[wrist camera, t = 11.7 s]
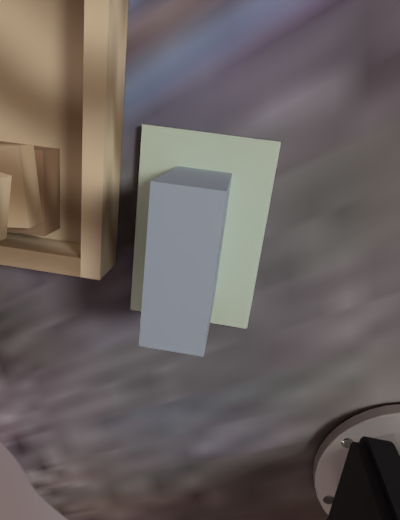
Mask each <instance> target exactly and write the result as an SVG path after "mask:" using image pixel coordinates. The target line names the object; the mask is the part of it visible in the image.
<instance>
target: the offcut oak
mask: <svg viewBox="0 0 400 520" xmlns="http://www.w3.org/2000/svg"><path fill="white" fill-rule="evenodd" d="M0 172H1V173H5V174H8V175H12V180H11V191H10V203H9V214H8V226H7V227H11V228H31V227H33V226H36V225H38V224H40V223H42V222H43V218H42V210H41V201H40V193H39V185H38V177H37V169H36V161H35V153H34V145H29V144H0Z"/></svg>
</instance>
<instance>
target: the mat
mask: <svg viewBox="0 0 400 520" xmlns="http://www.w3.org/2000/svg"><path fill="white" fill-rule="evenodd" d="M280 145H281V142H277V141H270V140H262V139H254V138H246V137H238V136H230V135H223V134H215V133H207V132H199V131H191V130H184V129H176V128H168V127H160V126H152V125H145V124H142V133H141V149H140V165H139V180H138V196H137V212H136V227H135V243H134V259H133V274H132V290H131V306H130V310H135V311H141V309H142V295H143V281H144V267H145V253H146V239H147V225H148V211H149V197H150V183H151V181H152V180H154V179H156V178H157V177H159V176H161V175H163V174H165V173H167V172H168V171H170V170H172V169H174V168H176V167H178V166H182V167H190V168H198V169H205V170H213V171H220V172H228V173H232V179H231V186H230V193H229V201H228V208H227V215H226V222H225V229H224V236H223V243H222V250H221V257H220V264H219V271H218V278H217V285H216V292H215V299H214V304H213V309H212V315H211V320H210V323H215V324H221V325H227V326H233V327H239V328H245V329H247V325H248V320H249V314H250V309H251V304H252V298H253V293H254V287H255V282H256V276H257V271H258V265H259V260H260V254H261V249H262V243H263V238H264V232H265V227H266V221H267V216H268V211H269V205H270V200H271V194H272V189H273V183H274V178H275V172H276V167H277V161H278V156H279V150H280Z"/></svg>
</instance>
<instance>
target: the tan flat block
mask: <svg viewBox="0 0 400 520" xmlns="http://www.w3.org/2000/svg"><path fill="white" fill-rule="evenodd" d="M0 144H20V143H12V142H5V141H0ZM34 153H35V161H36V169H37V177H38V185H39V193H40V201H41V210H42V218H43V222H42V223H40V224H38V225H36V226H33V227H31V228H11V227H7V231H12V232H18V233H25V234H32V235H38V236H47V235H49V234H50V233H52V232H54V231H56V230H58V229H60V149H57V148H50V147H42V146H35V145H34Z"/></svg>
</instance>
